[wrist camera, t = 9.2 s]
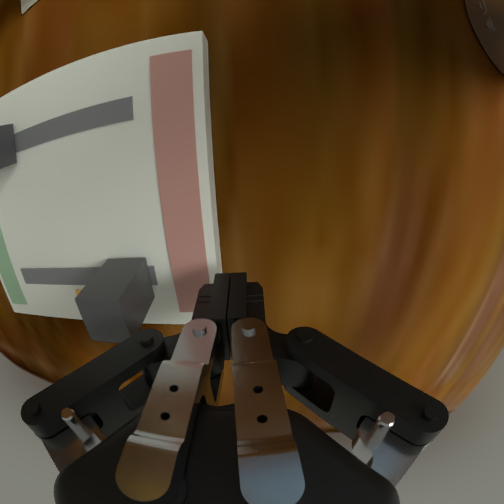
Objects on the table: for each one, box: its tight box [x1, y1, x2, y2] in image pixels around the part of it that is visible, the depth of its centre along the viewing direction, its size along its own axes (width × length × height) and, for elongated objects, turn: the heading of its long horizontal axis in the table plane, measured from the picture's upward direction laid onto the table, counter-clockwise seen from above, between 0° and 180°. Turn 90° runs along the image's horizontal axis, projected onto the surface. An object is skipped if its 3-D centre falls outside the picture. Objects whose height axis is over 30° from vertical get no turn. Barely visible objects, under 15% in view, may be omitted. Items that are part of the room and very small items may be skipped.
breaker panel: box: [0, 31, 222, 324], centre depth 14 cm, size 18×16×2 cm
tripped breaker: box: [75, 258, 155, 343], centre depth 13 cm, size 2×2×4 cm
